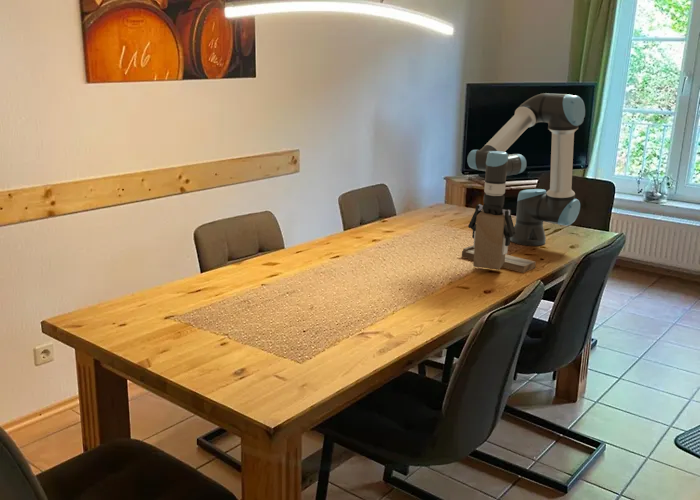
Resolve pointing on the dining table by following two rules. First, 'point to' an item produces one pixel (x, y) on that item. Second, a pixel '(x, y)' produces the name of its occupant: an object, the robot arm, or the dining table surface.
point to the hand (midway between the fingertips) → (490, 250)
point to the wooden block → (489, 241)
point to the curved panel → (509, 263)
